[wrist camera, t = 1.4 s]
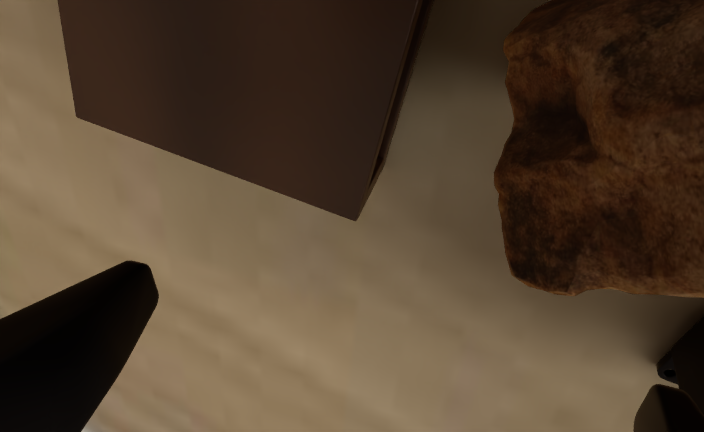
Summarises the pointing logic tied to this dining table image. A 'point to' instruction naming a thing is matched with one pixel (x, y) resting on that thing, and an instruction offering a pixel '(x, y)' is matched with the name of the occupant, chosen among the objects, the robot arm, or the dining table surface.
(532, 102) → the decorative rock
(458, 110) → the dining table surface
